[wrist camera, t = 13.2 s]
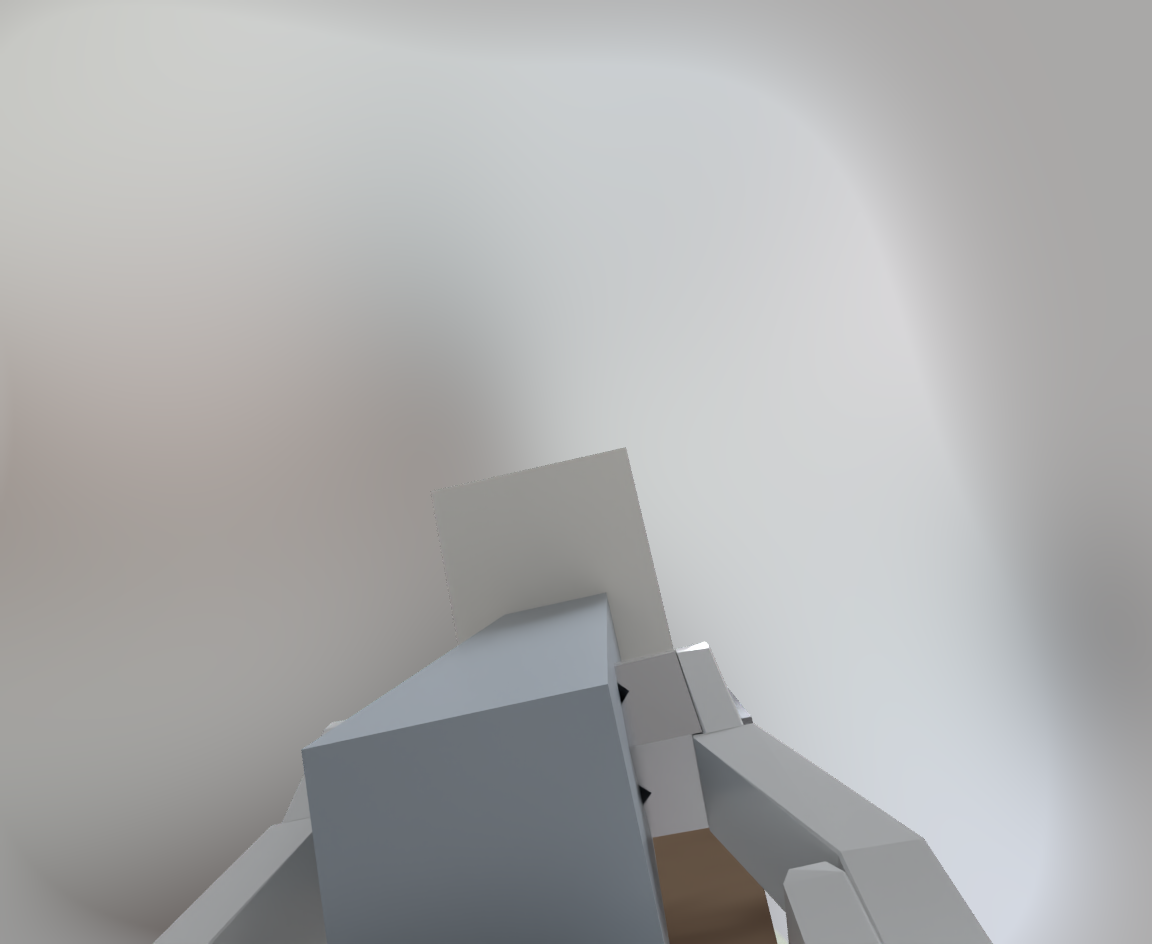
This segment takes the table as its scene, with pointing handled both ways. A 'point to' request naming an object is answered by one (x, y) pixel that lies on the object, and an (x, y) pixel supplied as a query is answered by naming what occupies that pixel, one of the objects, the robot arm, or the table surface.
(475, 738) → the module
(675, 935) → the stand
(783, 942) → the table surface
